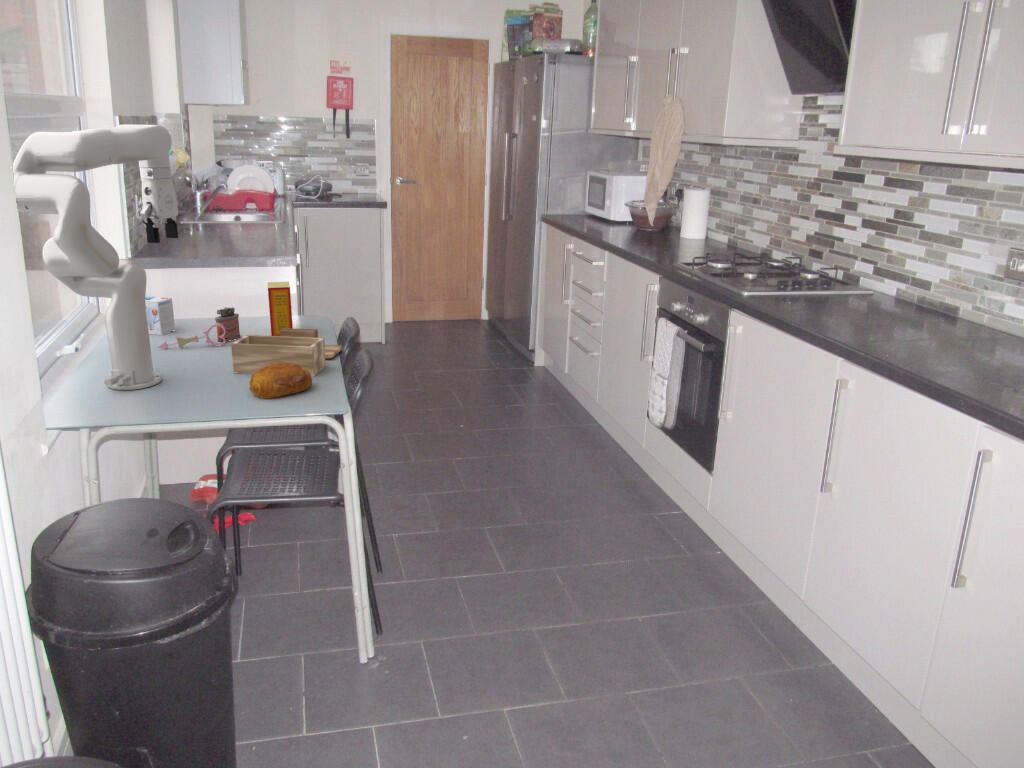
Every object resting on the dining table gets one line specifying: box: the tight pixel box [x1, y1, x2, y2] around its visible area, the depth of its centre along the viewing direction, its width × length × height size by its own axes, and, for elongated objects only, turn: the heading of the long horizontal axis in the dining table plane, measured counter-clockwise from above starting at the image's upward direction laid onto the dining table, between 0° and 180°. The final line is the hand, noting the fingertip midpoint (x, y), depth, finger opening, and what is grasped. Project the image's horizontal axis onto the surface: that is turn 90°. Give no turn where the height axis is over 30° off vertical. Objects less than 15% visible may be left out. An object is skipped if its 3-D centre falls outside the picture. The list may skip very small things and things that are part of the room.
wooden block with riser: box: [280, 327, 343, 360], centre depth 236 cm, size 10×22×8 cm, turn 84°
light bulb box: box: [145, 295, 176, 336], centre depth 257 cm, size 11×7×11 cm, turn 73°
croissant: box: [249, 362, 313, 400], centre depth 204 cm, size 14×16×8 cm
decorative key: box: [155, 323, 226, 350], centre depth 241 cm, size 7×1×20 cm
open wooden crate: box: [230, 334, 327, 378], centre depth 220 cm, size 10×22×8 cm, turn 84°
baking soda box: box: [267, 281, 294, 336], centre depth 256 cm, size 10×6×16 cm
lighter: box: [214, 307, 242, 343], centre depth 249 cm, size 8×3×10 cm, turn 149°
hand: (163, 240), depth 219 cm, fingers open, 9 cm apart
